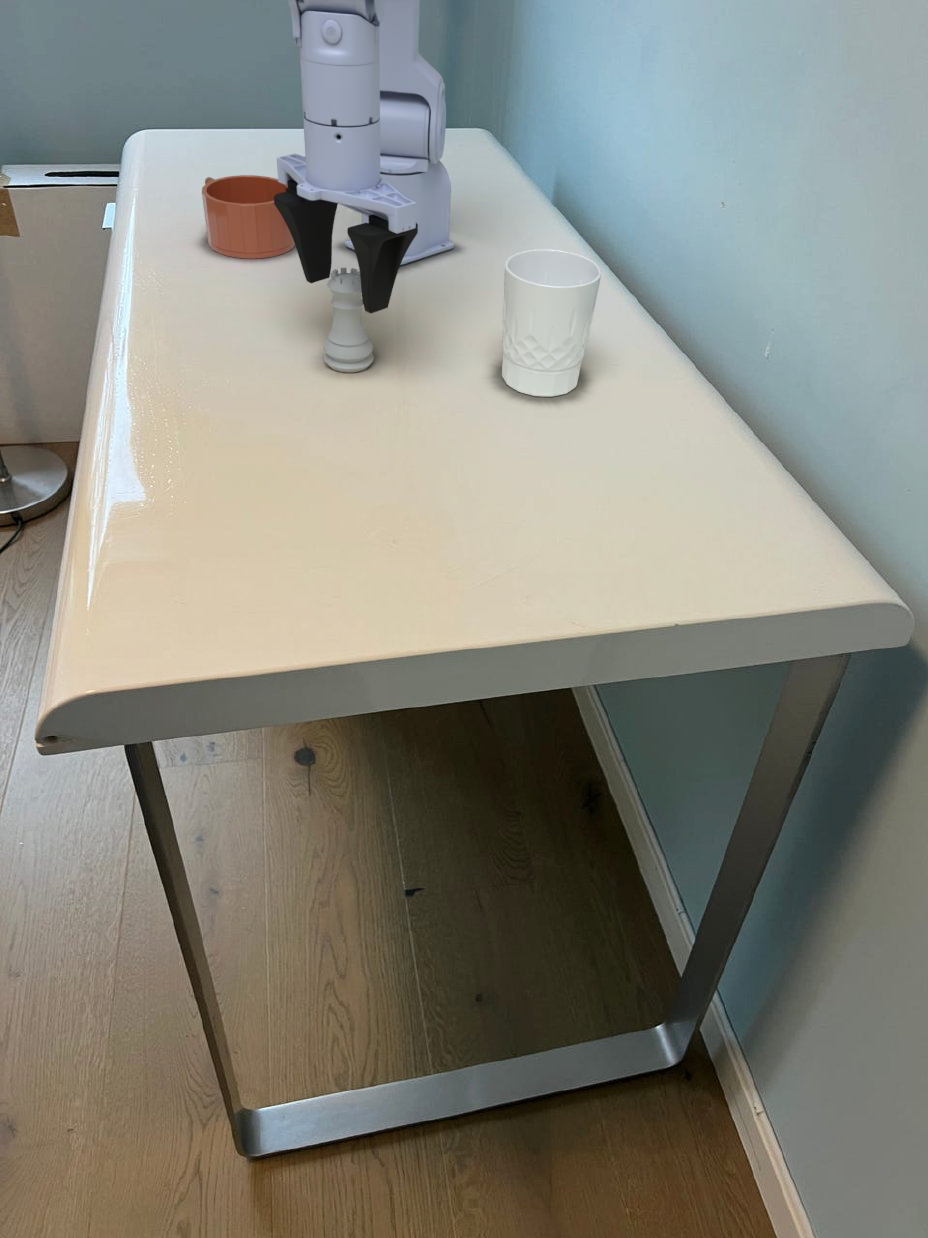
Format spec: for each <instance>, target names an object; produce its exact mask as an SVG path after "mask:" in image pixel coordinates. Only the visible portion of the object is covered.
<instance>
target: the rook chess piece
mask: <svg viewBox="0 0 928 1238" xmlns="http://www.w3.org/2000/svg"><path fill="white" fill-rule="evenodd" d="M331 271H332V273H331V272H330V279H329V280H328V282H327V283H326V286H327V289H329V291H330V292H331V293H332V298H331V300H330V305H331V306H332V323H331V329H330V332H329V333H328V335H327V337H328V338H327V339H326V340H325V342H324V345H323V350H324V355H323V357H322V358H323V360H324V362H325V364H326V365H327V366H328V367H329V368H330V369H332V370H334V371H337V372H340V373H347V374H349V373H359V372H362V371H365V370H366V369H368V368H369V367H370V366H371V364H372V363H373V362H374V359H375V356H374V355H373V353H372V352H373V351H374V346H373V343H372V341H371V340H370V339H369V338H368V337H369V335H368V333H367V332H366V331H365V327H364V321H363V312H362V307H364V305H363V301H362V291H361V278H360V271H358V269H356V268H353V267H352V268H351V269H350V272H347V271H348V269H347V267H340V273H339V269H337V268H336V269H333V270H331Z"/></svg>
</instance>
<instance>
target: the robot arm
mask: <svg viewBox="0 0 928 1238" xmlns="http://www.w3.org/2000/svg"><path fill="white" fill-rule="evenodd" d="M287 4H288V7H289V11H290V17H291V28H292V38H293V43H294V45H295V46H297V47H299V48H298V49H299V63H300V64H299V65H300V81H301V82H300V83H301V84H300V85H301V100H302V102H301V103H302V118H303V119H302V120H303V139H304V140H303V141H304V155H305V156H304V155H301V154H298V153H292V154H287V155H282V156H277V157H276V166H277V167H276V168H277V169H276V170H277V179H278V182H279V183H282V184H284V185H288V188H286V192H282V193H278V194H276V195H275V196H274V205H275V206H276V207H277V209H278V210H279V212H280V214H281V215H282V217H283V219H284V221H285V222H286V224H287V226H288V228H289V231H290V233H291V235H292V238H293V240H294V243H295V246H294V247H295V249H296V252H297V255H298V259H299V261H300V264H301V269H302V272H303V274H304V277H305V280H306V282H307V283H310V284H315V283H317V282H320V281H324V280H326V279H329V278H331V271H332V261H333V258H332V257H333V232H334V225H335V219H336V214H337V209H338V205H340V206H343V207H345V208H347V209H350V210H352V211H353V212H356V213H359V214H361V223H360V224H355V225H352V226H349V227H347V228H346V229H347V235H348V237H349V239H347V240H345V241H344V245H345V247H347V248H349V249H351V250H353V251H354V253H355V256H356V260H357V264H358V269H359V272H360V278H361V291H362V293H361V299H362V301H363V309H364V311H365V312H366V313H368V314H375V313H377V312H379V311H380V312H381V311H382V310H386V309H388V308H389V305H390V301H391V297H392V293H393V289H394V286H395V282H396V278H397V276H398V273H399V270H400V267H401V266H402V265H405V264H408V263H411V262H415V261H417V260H421V259H424V258H427V257H430V256H433V255H437V254H440V253H442V252H446V251H449V250H452V249H454V247H455V243H454V242H452V241H451V240H450V223H451V221H450V220H451V201H452V183H451V178H450V175H449V173H448V172H449V171H448V170H447V168H446V166H445V165H444V163H442V161H440V160H441V159H442V158H443V155H444V151H445V150H444V149H445V141H446V132H447V131H446V129H447V128H446V127H447V104H446V84H445V82H444V78H443V77H442V75H441V74H440V72H439V71H437V69H435V68H434V67H433V66H432V64H430V63H429V62H428V61H427V60H426V59H425V58H424V57H423V56H422V55H421V54H420V52H419V45H420V44H419V42H420V41H419V39H420V0H287Z"/></svg>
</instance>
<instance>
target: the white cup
mask: <svg viewBox="0 0 928 1238" xmlns="http://www.w3.org/2000/svg"><path fill="white" fill-rule="evenodd" d="M601 278H602V268H601V267H600V266H599V264H598V263H596V262H595V261H594V260H592V259H591V258H588V257H586V256H585V255H582V254H579V253H576V252H572V251H567V250H562V249H555V248H554V249H553V248H552V249H551V248H534V249H527V250H523V251H519V252H516V253H514V254H512V255H510V256H509V257H508V258H506V261H505V262H504V280H503V284H504V285H503V305H502V338H501V340H502V342H501V343H502V351H503V352H502V365H501V377H502V378H503V380H504V382H505V384H506V385H507V386H508V387H510V388H511V389H513V390H514V391H516V392H519V393H520V394H521V393H522V394H526V395H529V396H533V397H542V398H543V397H544V398H545V397H550V398H551V397H552V398H553V397H557V396H558V397H559V396H562V395H566V394H568V393H570V392H571V391H572V390H574V389H575V388H576V387H577V385H578V381H579V376H580V372H581V367H582V363H583V358H584V357H585V354H586V349H587V345H588V342H589V336H590V331H591V327H592V324H593V319H594V313H595V307H596V302H597V298H598V292H599V287H600V283H601Z"/></svg>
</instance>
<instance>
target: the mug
mask: <svg viewBox="0 0 928 1238" xmlns="http://www.w3.org/2000/svg"><path fill="white" fill-rule="evenodd" d="M286 188H288V185H284V184H282V183H279V182H278V178H275V177H270V176H265V175H264V176H263V175H255V174H253V175H251V174H246V175H245V174H241V175H231V176H224V177H219V178H213V177H211V176H208V177H206V178H205V180H204V185H203V186H202V188H201V196H202V197H201V198H202V205H203V213H204V221H205V229H206V237H207V242H208V246H209V247H210V248H211V250H213V251H215V252H216V253H218V254H220V255H223V256H225V257H230V258H236V259H247V260H248V259H249V260H252V259H254V260H255V259H265V258H267V259H268V258H272V257H277V256H281V255H284V254H286V253H288V252H290V251H291V250H293V249H294V248H295V247H296V246H295V243H294V240H293V238H292V235H291V233H290V231H289V228H288V226H287V224H286V222H285V221H284V219H283V217H282V215H281V214H280V212H279V210H278V209H277V207H276V206H275V205H274V196H275V195H276V194H278V193H282V192H286Z"/></svg>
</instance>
